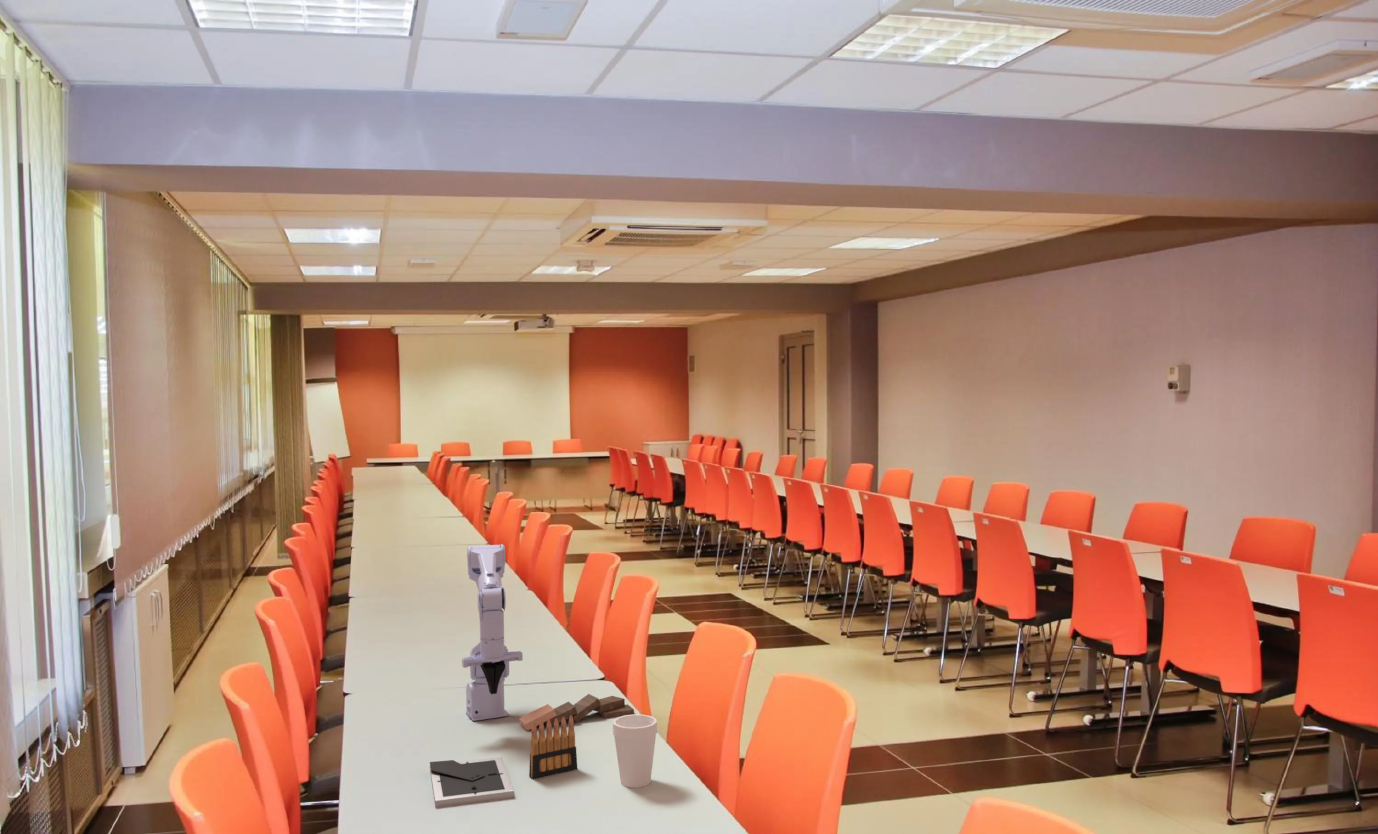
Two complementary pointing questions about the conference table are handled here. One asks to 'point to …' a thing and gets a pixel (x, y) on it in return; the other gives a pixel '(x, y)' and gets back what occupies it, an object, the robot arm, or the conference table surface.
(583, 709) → the tile
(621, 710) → the brown flat block
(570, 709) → the brown rectangular block
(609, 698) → the tile
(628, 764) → the foam cup
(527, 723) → the tile
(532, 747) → the ammunition clip
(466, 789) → the picture frame
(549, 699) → the conference table surface
